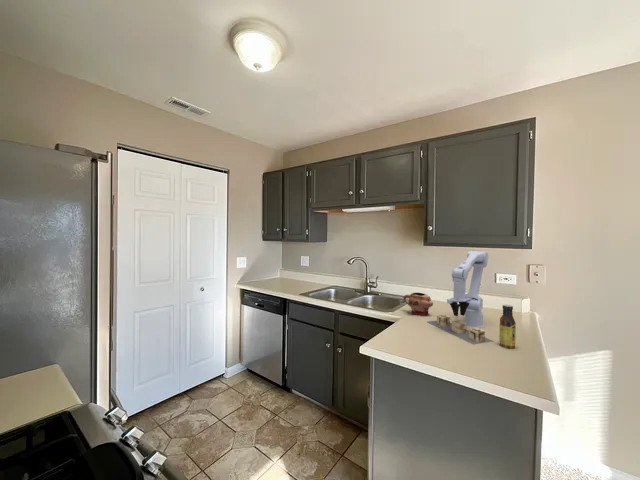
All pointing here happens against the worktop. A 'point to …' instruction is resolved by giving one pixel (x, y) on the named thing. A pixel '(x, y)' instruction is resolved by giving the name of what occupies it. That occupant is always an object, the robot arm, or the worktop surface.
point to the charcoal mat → (462, 335)
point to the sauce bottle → (507, 328)
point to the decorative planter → (419, 303)
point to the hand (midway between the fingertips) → (459, 315)
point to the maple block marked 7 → (476, 334)
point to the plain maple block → (458, 327)
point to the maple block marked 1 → (443, 320)
